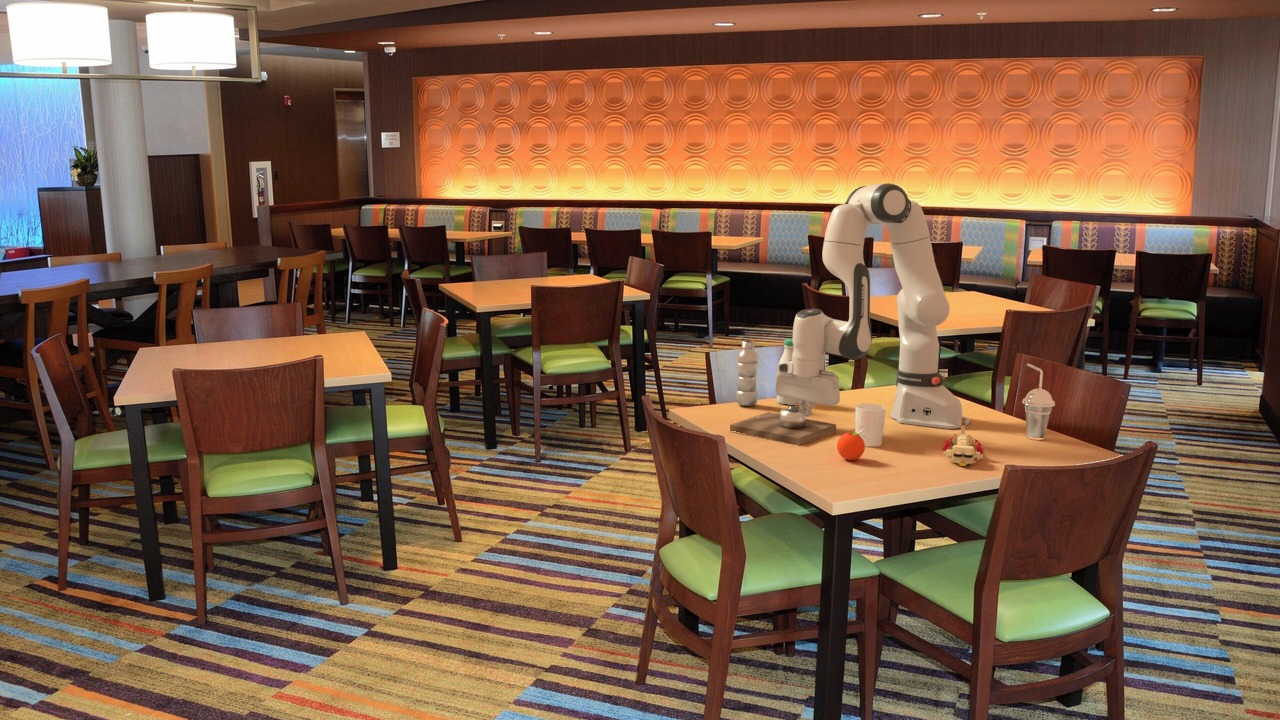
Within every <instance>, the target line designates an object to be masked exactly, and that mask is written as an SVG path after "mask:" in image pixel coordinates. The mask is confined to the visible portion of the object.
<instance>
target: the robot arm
mask: <svg viewBox="0 0 1280 720" xmlns="http://www.w3.org/2000/svg"><path fill="white" fill-rule="evenodd" d="M873 224H874V225H875V224H876V225H879V224H884V225H885V226H886V229H887V231H888V235H889V242H890V247H891V252H892V258H893V264H894V268H895V273H896V274H897V277H898V279H899V282H900V285H901V289H900V290H899V292H898V293H897V297H896V306H897V321H898V333H899V359H898V369H897V370H896V377H895V381H896V382H895V383H896V384H895V385H896V391H895V398H894V401H893V406H892V409H891V413H890V418H892V419H894V420H896V421H897V422H898V423H900V424H906V425H916V426H922V427H924V426H925V427H930V428H938V429H947V430H948V429H949V430H952V429H954V430H955V429H961V423H962V418H966V420H965V427H966V426H968V425H970V423H971V419H970V418H969V417H968V416H963V408H962V407H963V405H962V403H961V400H960V399H959V398H957V397H956V395H954V394H953V393H952V392H951V391H950V390H949V389H948V388H947V387H945V385H944V380H945V379H946V374H943V375H942V374H941V373H940V371H939V359H940V358H939V355H940V343H939V338H938V332H937V327H938V326H940V325H942V324H943V323H944V322H945V321H946V320H947V318H948V317H949V315H950V311H951V310H950V309H951V308H950V304H949V301H948V298H947V296H946V294H945V293H946V292H945V291H944V285H943V283H942V280H941V277H940V274H939V271H938V269H937V265H936V262H935V255H934V252H933V246H932V241H931V235H930V229H929V226H928V223H927V219H926V216H925V214H924V210H923V209H922V207H921V204H919V203H918V202H916V201H914V200H910V198H909V197H908V194H907V193H906V191H905V190H904V188H902V187H900V186H899V185H897V184H895V183H873V184H869V185H863V186H860V187H856V188H855V189H854V190H853V191H851V193H850V194H849V195H848V197H847V199H846V201H845V203H843V204H840V205H837V206H836V207H834V208H833V210H831V213H830V216H829V219H828V221H827V226H826V228H825V235H824V240H823V246H822V254H821V255H822V262H823V264H824V266H825V269H827V270H828V272H830V273H831V274H832V275H833V276H835V277H836V278H838V279H840V281H842V282H843V283H844V284H845V285H846V287H847V289H848V291H849V311H848V313H849V314H848V315H849V316H848V317H849V318H848V321H846V320H844V321H843V320H841V319H834V318H832V317H829V316H828V315H826V314H824V312H823V311H822V309H818V308H809V309H808V308H806V309H802V310H800V311H799V312H797V313H796V314H795V317H794V321H793V327H792V339H793V340H792V341H793V346H794V351H793V354H792V360H790V361H788V362H783V363H780V364H779V363H777V364H776V371H777V372H776V375H775V379H774V393H775V394H776V396H777V395H778V396H783V397H788V398H793V399H798V404H799V406H800V408H801V409H803V410H805V411H806V418H808V417H811V416H812V410H813V409H814V406H815V405H816V404H819V405H824V406H829V407H833V406H836V405H838V404H839V403H840V400H841V397H840V395H841V394H840V377H838V375H837V374H836V373H835V372H834V371H828V370H825V369H824V366H825V354H824V353H828V354H832V355H837V356H841V357H844V358H848V359H850V360H859V359H861V358H862V357H864V356H865V355H866V354H867V353H868V352H869V351H870V348H871V346H872V341H873V340H872V331H871V276H870V270H869V268H868V267H867V266H866V264H865V261H864V245H865V236H866V233H867V230H868V228H869V227H870V226H871V225H873ZM778 371H779V372H778ZM805 403H806V405H805Z"/></svg>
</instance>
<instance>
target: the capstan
mask: <svg viewBox="0 0 1280 720" xmlns="http://www.w3.org/2000/svg"><path fill="white" fill-rule="evenodd" d="M805 405H806V406H807V402H806V403H805ZM779 414H780V426H782V427H786V428H803V427H805V426H806V419H807V417H806V411H805V410H803V409H801V408H800V406H799V404H798V403H797V405H789V406H788V407H786V408H782V409H780V412H779Z"/></svg>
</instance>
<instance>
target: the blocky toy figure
mask: <svg viewBox="0 0 1280 720" xmlns="http://www.w3.org/2000/svg"><path fill="white" fill-rule="evenodd" d="M965 420H966V418H962V423H961V428H960V433H958V434H957V433H953V436H951V437H949V439H947V440H945V442H944V444H943V446H942V451H943V456H945V458H949V457H951V458H949V459H948V461H949V462H952V463H954V464H958V465H959V466H961V467H966V466H967V465H973V464H976V463H977V461H976V460H981V459H983V454H984V449H983V447H982V443H981V442H979V440H978V439H976V438H974V437H973V436H972V435H971V434H967V433H965V432H966V426H965ZM974 442H975V444H976V445H975V447H974V446H973V444H974ZM951 443H952V444H953V446H952V449H949V448H951ZM975 450H976V451H975Z"/></svg>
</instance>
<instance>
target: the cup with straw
mask: <svg viewBox="0 0 1280 720" xmlns="http://www.w3.org/2000/svg"><path fill="white" fill-rule="evenodd" d="M1026 366H1027V367H1030V368H1031V369H1033V370H1036V371H1038V372H1039V373H1040V374H1039V383H1038V386H1039V387H1038V388H1034V389H1031V390H1030V391H1029V392H1028V393H1027V394H1026V396H1025V397H1024V398H1023V399H1022V401H1021V403H1022V404H1023V405H1024V409H1025V423H1026V426H1025V427H1026V428H1025V429H1026V431H1025V432H1026V437H1027V436H1028V437H1032V438H1044V439H1045V436H1046V435H1047V434H1046V433H1047V429H1048V428H1047V427H1048V424H1049V419H1050V415H1051V412H1052V409H1053V408H1052V407H1055V406H1056V403H1055V401H1054V399H1053V398H1052V395H1051V394H1050V391H1047V390H1046V389H1043V388H1042V387H1043V378H1044V377H1043V376H1044V371H1043V370H1042V369H1041V368H1039V367H1037V366H1035V365H1033V364H1031V363H1026Z"/></svg>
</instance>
